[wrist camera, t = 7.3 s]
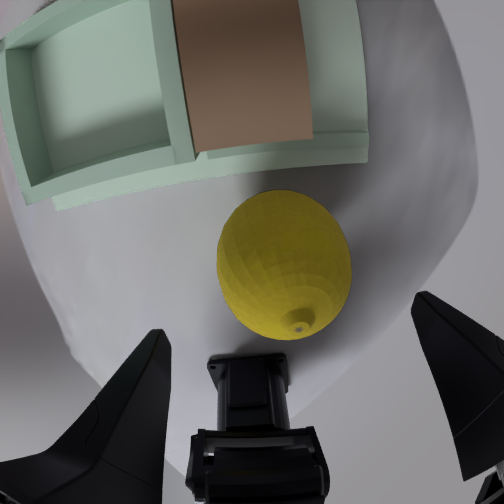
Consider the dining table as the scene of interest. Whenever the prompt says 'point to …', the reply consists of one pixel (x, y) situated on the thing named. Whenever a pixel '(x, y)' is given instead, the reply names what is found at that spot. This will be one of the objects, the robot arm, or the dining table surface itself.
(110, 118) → the tray
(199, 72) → the tan rectangular block
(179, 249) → the dining table surface
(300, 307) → the lemon
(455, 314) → the robot arm
